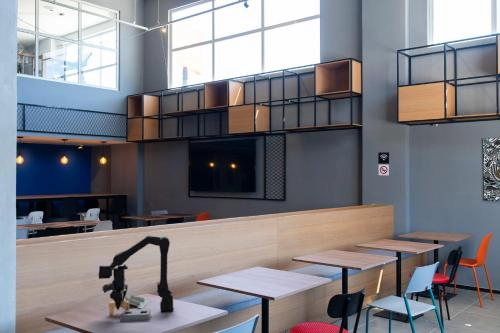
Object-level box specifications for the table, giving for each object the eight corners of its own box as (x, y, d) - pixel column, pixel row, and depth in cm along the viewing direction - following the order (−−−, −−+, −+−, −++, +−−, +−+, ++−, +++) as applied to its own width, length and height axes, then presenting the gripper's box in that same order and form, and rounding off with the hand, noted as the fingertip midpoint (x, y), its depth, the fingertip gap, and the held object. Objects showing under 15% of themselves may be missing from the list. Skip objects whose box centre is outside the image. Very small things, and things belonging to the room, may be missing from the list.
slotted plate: (150, 315, 251) (150, 309, 251) (148, 320, 243) (148, 314, 243) (123, 316, 249) (123, 310, 249) (120, 321, 241) (120, 315, 241)
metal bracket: (120, 298, 265) (130, 291, 279) (118, 308, 265) (127, 301, 280) (145, 306, 263) (153, 299, 278) (142, 316, 263) (150, 308, 278)
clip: (129, 312, 256) (129, 300, 256) (128, 314, 253) (128, 302, 253) (110, 313, 255) (110, 301, 255) (109, 315, 252) (109, 302, 253)
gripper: (107, 274, 263) (107, 303, 263) (99, 282, 244) (99, 312, 244) (127, 273, 264) (128, 302, 264) (121, 281, 245) (122, 312, 245)
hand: (119, 307), depth 254 cm, fingers open, 8 cm apart
